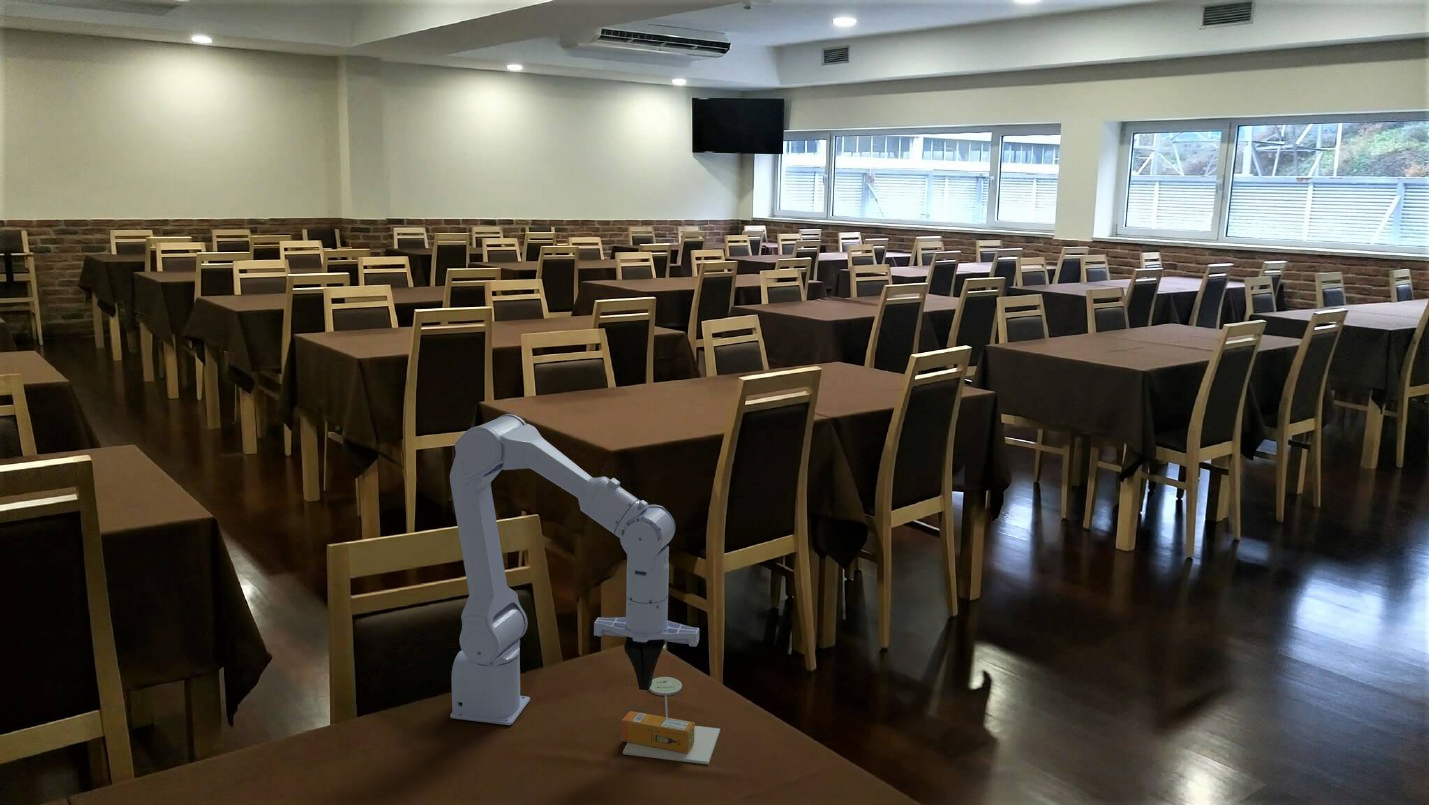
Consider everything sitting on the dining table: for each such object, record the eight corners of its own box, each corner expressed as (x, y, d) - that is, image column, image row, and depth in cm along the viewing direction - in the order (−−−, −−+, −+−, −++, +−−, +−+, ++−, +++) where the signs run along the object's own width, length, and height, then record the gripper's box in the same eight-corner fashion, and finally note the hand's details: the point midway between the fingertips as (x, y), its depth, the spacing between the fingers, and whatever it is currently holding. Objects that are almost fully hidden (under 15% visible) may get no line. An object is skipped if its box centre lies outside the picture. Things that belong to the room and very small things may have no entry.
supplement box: (630, 730, 149) (695, 744, 146) (620, 741, 146) (687, 756, 143) (630, 708, 148) (696, 722, 145) (620, 719, 145) (687, 733, 142)
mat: (622, 754, 143) (622, 751, 143) (639, 721, 152) (639, 719, 152) (708, 764, 141) (708, 761, 141) (720, 731, 150) (720, 728, 150)
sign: (649, 727, 150) (648, 677, 165) (648, 732, 150) (648, 682, 165) (685, 726, 151) (681, 677, 165) (684, 732, 151) (681, 682, 165)
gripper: (587, 601, 140) (586, 694, 143) (693, 612, 138) (690, 706, 141) (602, 582, 147) (601, 671, 150) (703, 592, 145) (700, 682, 147)
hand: (645, 686), depth 146 cm, fingers closed
